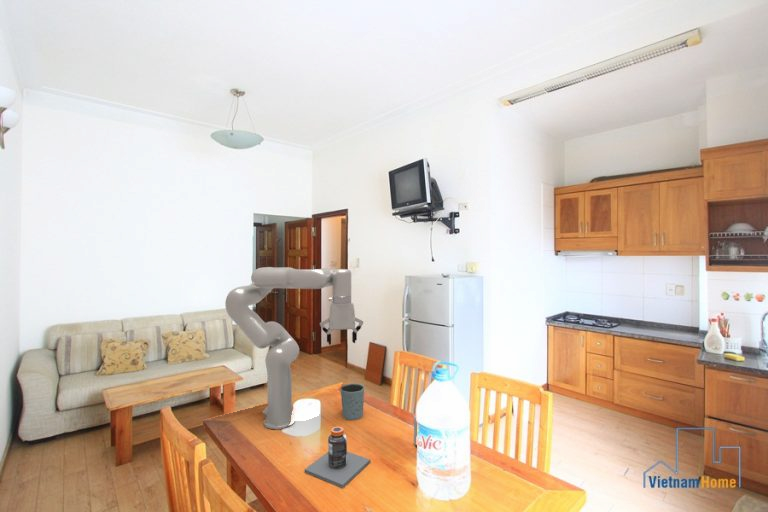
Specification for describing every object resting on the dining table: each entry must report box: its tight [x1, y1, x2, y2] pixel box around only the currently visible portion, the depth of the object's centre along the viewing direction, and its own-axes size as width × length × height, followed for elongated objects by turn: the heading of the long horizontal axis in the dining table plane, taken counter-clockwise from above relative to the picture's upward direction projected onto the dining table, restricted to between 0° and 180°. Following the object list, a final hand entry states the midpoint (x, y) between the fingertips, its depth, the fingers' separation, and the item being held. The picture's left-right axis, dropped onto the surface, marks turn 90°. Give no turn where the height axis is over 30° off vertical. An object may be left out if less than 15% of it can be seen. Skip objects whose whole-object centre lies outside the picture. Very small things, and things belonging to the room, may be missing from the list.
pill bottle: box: [327, 426, 348, 469], centre depth 115 cm, size 6×6×11 cm
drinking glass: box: [340, 382, 365, 421], centre depth 152 cm, size 10×10×12 cm
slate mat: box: [304, 451, 371, 489], centre depth 115 cm, size 15×15×1 cm
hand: (341, 343), depth 142 cm, fingers open, 9 cm apart
